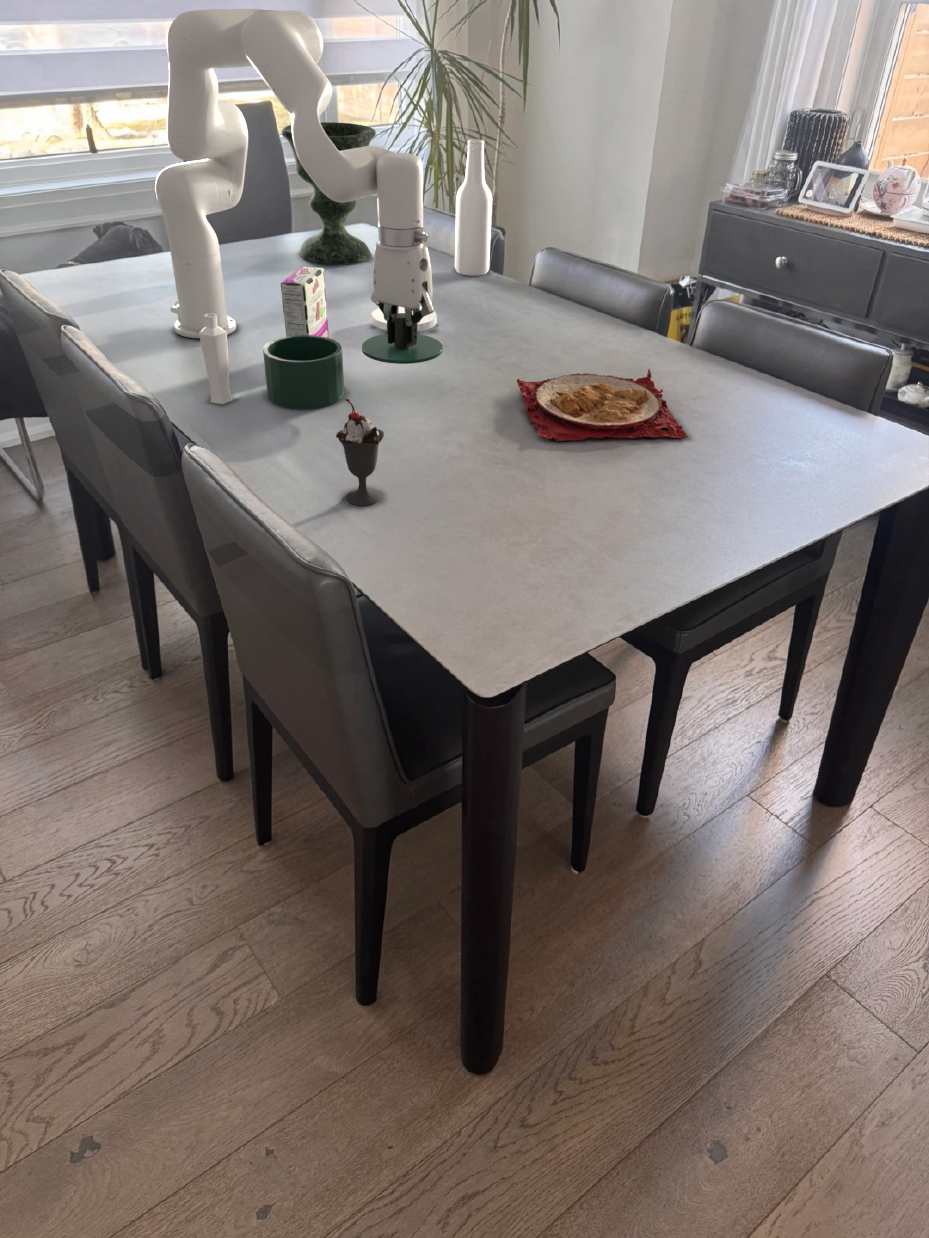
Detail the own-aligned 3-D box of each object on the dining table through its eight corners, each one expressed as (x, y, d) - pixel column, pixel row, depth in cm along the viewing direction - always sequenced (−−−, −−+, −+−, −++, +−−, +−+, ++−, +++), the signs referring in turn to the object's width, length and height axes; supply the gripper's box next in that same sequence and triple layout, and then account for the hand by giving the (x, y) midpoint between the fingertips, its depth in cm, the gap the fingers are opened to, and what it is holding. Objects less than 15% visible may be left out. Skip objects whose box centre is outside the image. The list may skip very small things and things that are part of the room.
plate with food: (515, 388, 172) (516, 371, 170) (649, 383, 174) (651, 365, 172) (538, 445, 153) (539, 426, 151) (687, 438, 155) (691, 419, 153)
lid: (348, 360, 162) (346, 322, 158) (381, 335, 173) (380, 299, 169) (425, 372, 158) (425, 333, 154) (454, 345, 169) (454, 309, 165)
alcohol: (457, 265, 238) (460, 136, 220) (491, 268, 237) (496, 138, 219) (452, 275, 231) (454, 142, 213) (486, 277, 230) (492, 144, 212)
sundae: (340, 487, 138) (335, 392, 129) (385, 487, 138) (382, 392, 129) (339, 509, 132) (333, 411, 124) (385, 508, 133) (383, 411, 124)
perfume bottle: (239, 397, 164) (229, 313, 155) (226, 406, 161) (215, 320, 152) (217, 393, 165) (206, 309, 157) (204, 402, 162) (191, 317, 153)
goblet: (342, 273, 229) (335, 139, 212) (274, 257, 239) (263, 128, 221) (394, 255, 244) (392, 128, 227) (329, 241, 254) (322, 119, 236)
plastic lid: (398, 341, 190) (398, 329, 188) (358, 323, 198) (358, 312, 197) (449, 328, 198) (450, 316, 196) (409, 311, 206) (409, 300, 204)
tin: (254, 402, 163) (248, 355, 158) (290, 375, 173) (286, 331, 168) (323, 414, 159) (320, 366, 154) (356, 386, 170) (354, 341, 165)
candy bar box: (306, 349, 185) (300, 265, 175) (330, 352, 184) (325, 267, 174) (287, 369, 176) (279, 281, 166) (312, 372, 175) (305, 284, 165)
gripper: (453, 239, 153) (451, 348, 164) (376, 224, 160) (379, 329, 171) (426, 248, 148) (426, 359, 159) (348, 232, 155) (353, 340, 166)
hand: (402, 343), depth 165 cm, fingers closed on lid, 2 cm apart
